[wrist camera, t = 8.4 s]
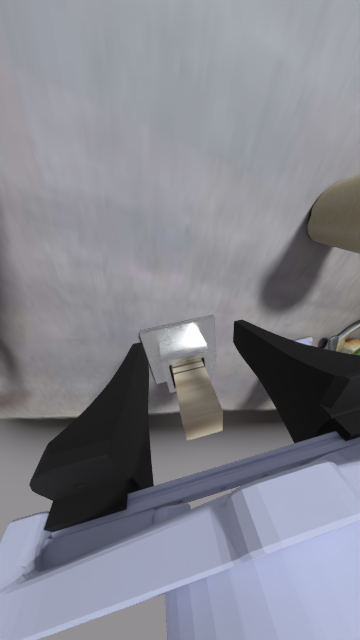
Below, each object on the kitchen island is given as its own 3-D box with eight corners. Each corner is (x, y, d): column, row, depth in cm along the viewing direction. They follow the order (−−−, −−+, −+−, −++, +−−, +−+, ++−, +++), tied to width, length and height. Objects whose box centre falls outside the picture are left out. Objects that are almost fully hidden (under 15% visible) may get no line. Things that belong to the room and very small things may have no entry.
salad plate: (289, 359, 33) (308, 376, 29) (371, 293, 28) (407, 304, 24) (323, 385, 42) (342, 401, 38) (391, 338, 36) (421, 351, 33)
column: (200, 370, 25) (222, 430, 17) (174, 376, 24) (186, 440, 17) (198, 350, 22) (223, 410, 15) (170, 357, 22) (181, 421, 15)
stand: (214, 365, 29) (225, 388, 25) (156, 379, 28) (157, 405, 24) (212, 314, 24) (226, 333, 19) (139, 330, 23) (138, 353, 18)
